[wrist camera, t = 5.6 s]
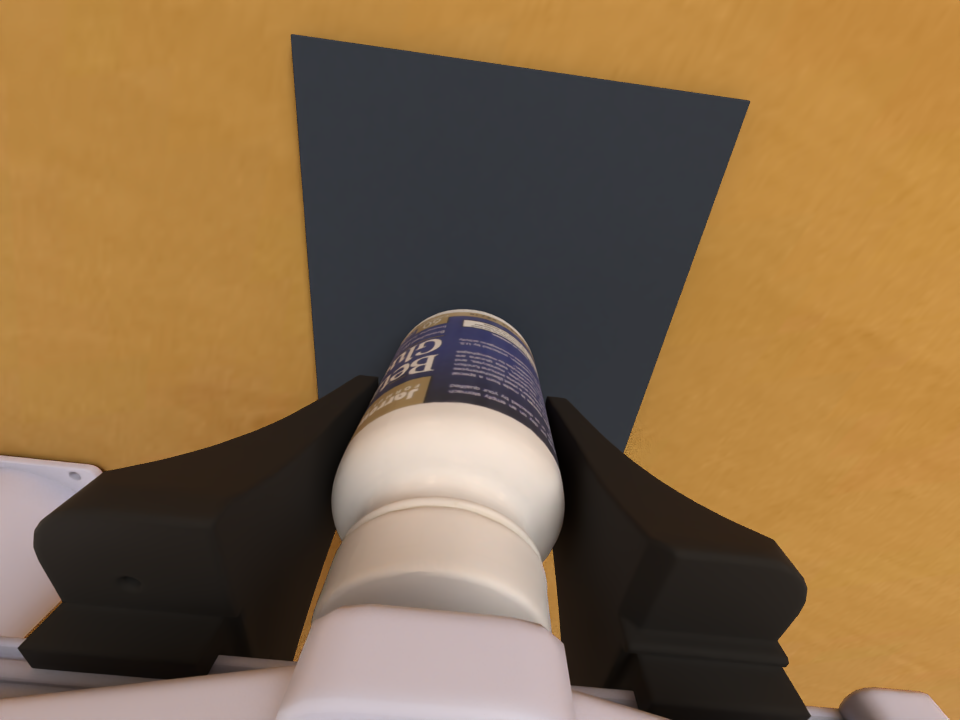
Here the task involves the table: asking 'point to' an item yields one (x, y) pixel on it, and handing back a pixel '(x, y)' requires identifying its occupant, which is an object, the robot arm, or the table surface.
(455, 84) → the felt mat
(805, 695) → the table surface
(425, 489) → the pill bottle
